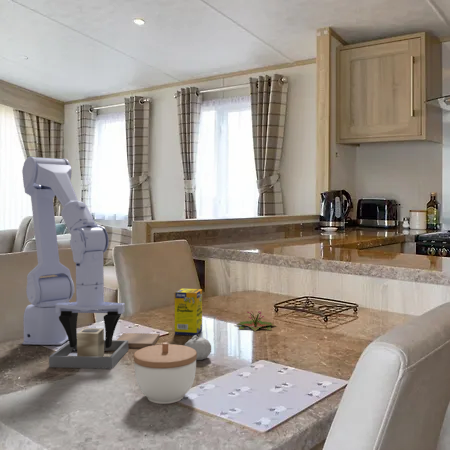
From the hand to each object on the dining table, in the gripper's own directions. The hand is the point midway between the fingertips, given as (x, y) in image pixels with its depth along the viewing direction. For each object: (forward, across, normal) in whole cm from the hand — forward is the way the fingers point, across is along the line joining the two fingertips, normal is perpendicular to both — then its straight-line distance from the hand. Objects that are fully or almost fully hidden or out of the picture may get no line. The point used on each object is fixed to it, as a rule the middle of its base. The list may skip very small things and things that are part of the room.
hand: (90, 346), depth 111 cm
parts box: (+3, 0, 0) cm, 3 cm away
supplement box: (+3, +18, +23) cm, 29 cm away
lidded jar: (+3, +20, -21) cm, 29 cm away
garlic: (+3, +23, +1) cm, 23 cm away
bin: (+3, 0, 0) cm, 3 cm away
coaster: (+2, +7, +13) cm, 15 cm away
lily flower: (+3, +35, +31) cm, 47 cm away
